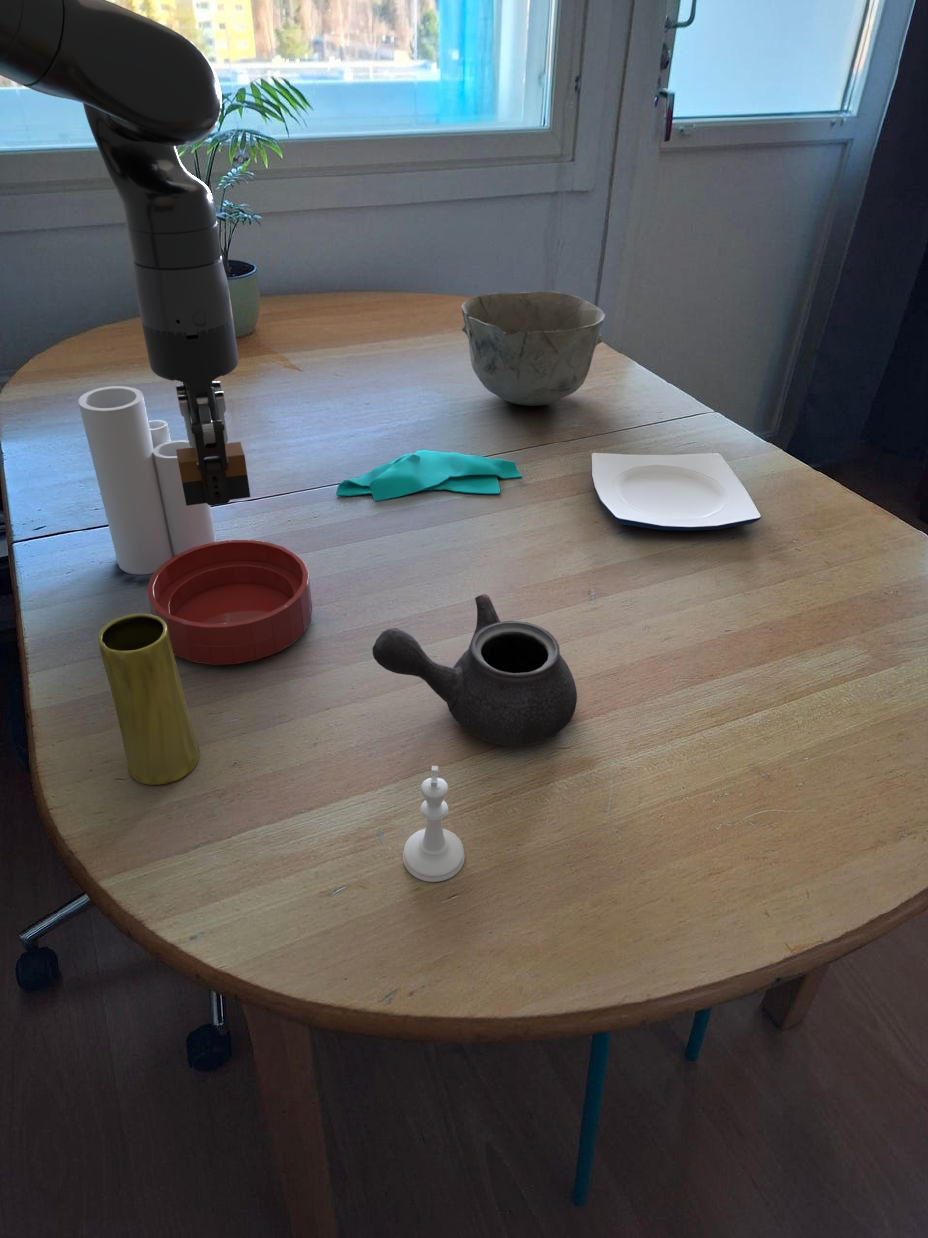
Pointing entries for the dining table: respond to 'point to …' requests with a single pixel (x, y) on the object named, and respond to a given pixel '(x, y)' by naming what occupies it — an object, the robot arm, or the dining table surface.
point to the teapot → (494, 678)
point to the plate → (672, 491)
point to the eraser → (193, 478)
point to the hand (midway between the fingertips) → (216, 493)
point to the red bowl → (232, 600)
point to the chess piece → (433, 837)
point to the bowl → (531, 343)
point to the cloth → (431, 475)
